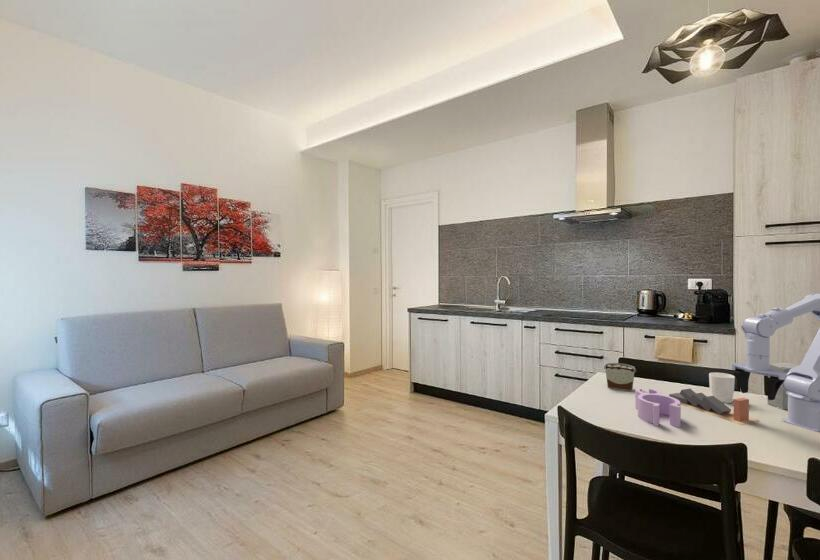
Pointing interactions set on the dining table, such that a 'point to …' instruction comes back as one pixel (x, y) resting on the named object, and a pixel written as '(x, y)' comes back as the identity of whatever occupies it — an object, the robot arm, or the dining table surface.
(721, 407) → the domino
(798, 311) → the robot arm
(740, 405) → the rust domino
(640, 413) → the clip
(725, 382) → the white cup
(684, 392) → the domino
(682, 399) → the domino
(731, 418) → the cork strip
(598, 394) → the dining table surface
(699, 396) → the domino
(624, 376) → the food container
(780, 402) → the skincare box
